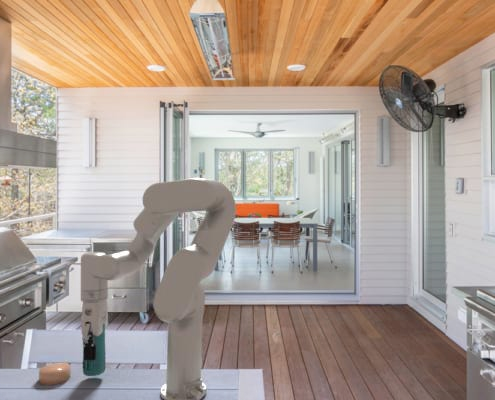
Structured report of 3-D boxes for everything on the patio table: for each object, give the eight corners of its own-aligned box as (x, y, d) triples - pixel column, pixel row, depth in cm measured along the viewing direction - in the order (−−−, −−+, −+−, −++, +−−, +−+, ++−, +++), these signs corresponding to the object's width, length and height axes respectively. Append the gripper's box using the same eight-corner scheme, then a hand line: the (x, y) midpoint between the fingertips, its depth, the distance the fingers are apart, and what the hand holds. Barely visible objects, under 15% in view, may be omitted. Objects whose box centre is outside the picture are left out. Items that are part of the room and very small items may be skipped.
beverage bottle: (109, 372, 122) (109, 306, 122) (99, 382, 115) (99, 312, 115) (89, 371, 122) (89, 306, 123) (77, 381, 116) (78, 312, 116)
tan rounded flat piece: (74, 379, 118) (74, 369, 118) (43, 388, 113) (43, 377, 113) (65, 370, 124) (65, 360, 124) (35, 377, 119) (35, 367, 119)
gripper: (97, 301, 110) (97, 366, 110) (115, 288, 128) (115, 344, 128) (69, 301, 110) (69, 367, 110) (91, 288, 127) (91, 344, 127)
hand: (94, 354), depth 119 cm, fingers closed on beverage bottle, 6 cm apart
